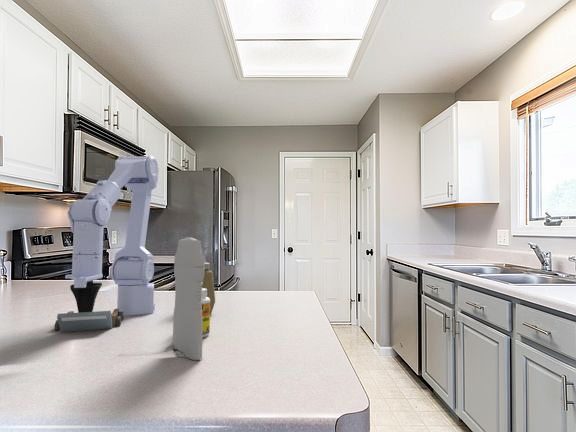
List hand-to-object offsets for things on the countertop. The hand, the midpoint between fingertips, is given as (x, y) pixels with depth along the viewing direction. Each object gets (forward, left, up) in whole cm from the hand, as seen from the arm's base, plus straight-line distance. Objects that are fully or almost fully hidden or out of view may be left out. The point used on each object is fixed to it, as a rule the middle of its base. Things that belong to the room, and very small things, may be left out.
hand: (85, 317), depth 78 cm
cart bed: (0, -8, -4) cm, 9 cm away
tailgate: (0, -3, -3) cm, 4 cm away
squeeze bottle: (-26, -16, -5) cm, 31 cm away
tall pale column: (-20, +17, -5) cm, 27 cm away
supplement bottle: (-23, +5, -5) cm, 24 cm away
